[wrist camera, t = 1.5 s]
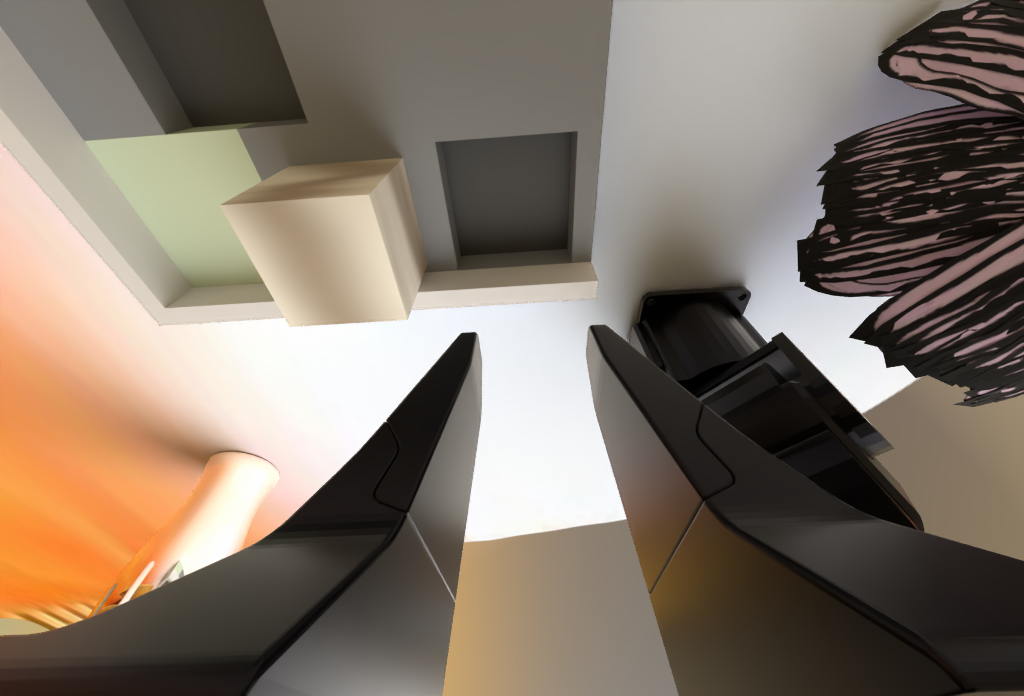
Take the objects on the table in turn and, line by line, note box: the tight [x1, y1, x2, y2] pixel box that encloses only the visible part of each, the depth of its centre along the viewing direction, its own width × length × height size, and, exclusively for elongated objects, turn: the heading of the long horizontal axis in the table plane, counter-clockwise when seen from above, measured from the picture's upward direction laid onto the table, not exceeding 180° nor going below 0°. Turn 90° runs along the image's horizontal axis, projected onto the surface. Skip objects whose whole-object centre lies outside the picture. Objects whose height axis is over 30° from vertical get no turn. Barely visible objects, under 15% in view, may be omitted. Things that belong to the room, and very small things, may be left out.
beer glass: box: [87, 452, 280, 619], centre depth 29 cm, size 7×7×15 cm
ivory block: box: [220, 158, 428, 327], centre depth 15 cm, size 5×5×5 cm
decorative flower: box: [797, 0, 1024, 407], centre depth 15 cm, size 15×12×15 cm
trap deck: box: [0, 0, 613, 326], centre depth 15 cm, size 22×16×4 cm
